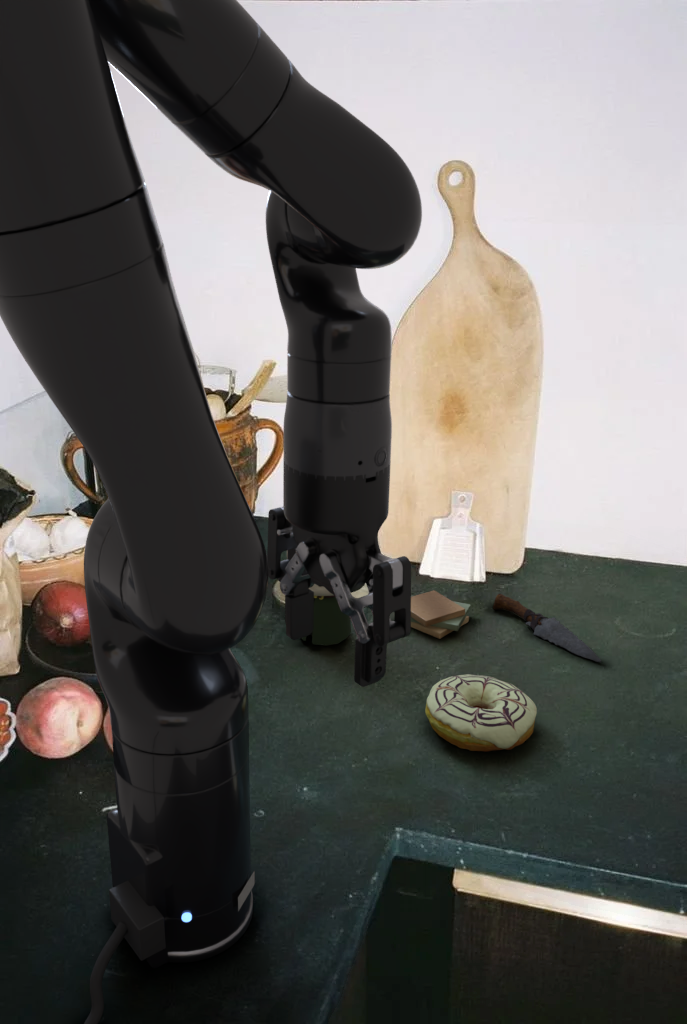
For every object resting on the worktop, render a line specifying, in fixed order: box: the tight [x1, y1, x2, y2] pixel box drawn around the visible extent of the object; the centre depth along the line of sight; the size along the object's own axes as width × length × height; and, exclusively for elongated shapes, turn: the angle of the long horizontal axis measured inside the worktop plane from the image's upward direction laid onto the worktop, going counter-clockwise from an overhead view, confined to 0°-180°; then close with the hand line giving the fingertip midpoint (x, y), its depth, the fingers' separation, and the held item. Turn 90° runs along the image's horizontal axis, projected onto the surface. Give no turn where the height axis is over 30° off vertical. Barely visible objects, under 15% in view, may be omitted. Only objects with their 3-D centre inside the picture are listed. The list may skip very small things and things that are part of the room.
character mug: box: [301, 583, 366, 646], centre depth 108 cm, size 11×7×13 cm, turn 56°
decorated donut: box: [424, 673, 538, 752], centre depth 92 cm, size 10×11×4 cm
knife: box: [492, 593, 602, 663], centre depth 111 cm, size 17×2×5 cm
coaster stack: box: [411, 589, 472, 640], centre depth 114 cm, size 9×8×2 cm
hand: (332, 658), depth 71 cm, fingers open, 8 cm apart
